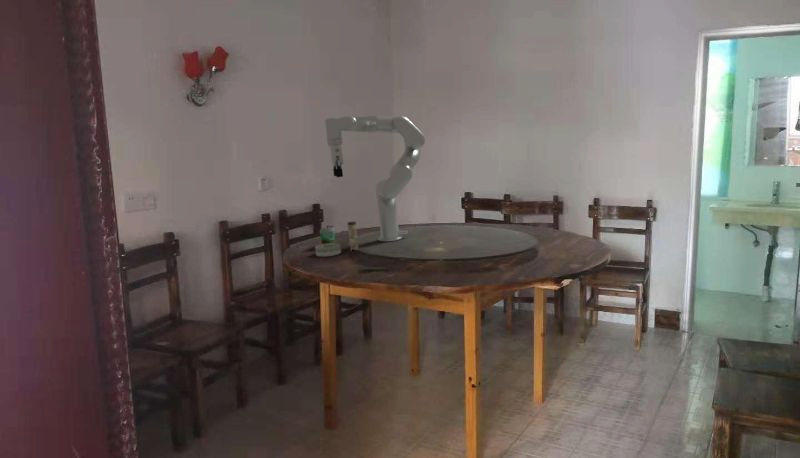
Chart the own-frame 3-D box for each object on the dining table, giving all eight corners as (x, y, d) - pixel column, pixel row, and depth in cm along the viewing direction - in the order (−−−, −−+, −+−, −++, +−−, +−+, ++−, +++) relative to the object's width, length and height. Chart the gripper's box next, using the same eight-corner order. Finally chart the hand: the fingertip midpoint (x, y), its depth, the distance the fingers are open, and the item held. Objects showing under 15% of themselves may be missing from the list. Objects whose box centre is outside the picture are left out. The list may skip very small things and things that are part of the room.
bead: (338, 249, 316) (337, 242, 315) (342, 254, 304) (341, 246, 303) (315, 253, 313) (314, 245, 312) (317, 257, 301) (317, 249, 301)
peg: (357, 248, 314) (354, 221, 311) (359, 250, 310) (356, 222, 308) (349, 249, 313) (346, 222, 311) (351, 251, 309) (348, 223, 307)
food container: (333, 248, 322) (330, 228, 320) (321, 248, 323) (319, 229, 322) (340, 243, 334) (337, 224, 332) (329, 243, 335) (326, 225, 333)
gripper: (344, 141, 308) (348, 176, 311) (339, 141, 325) (343, 174, 328) (329, 143, 307) (333, 178, 309) (325, 143, 323) (329, 176, 326)
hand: (338, 176), depth 319 cm, fingers open, 9 cm apart
